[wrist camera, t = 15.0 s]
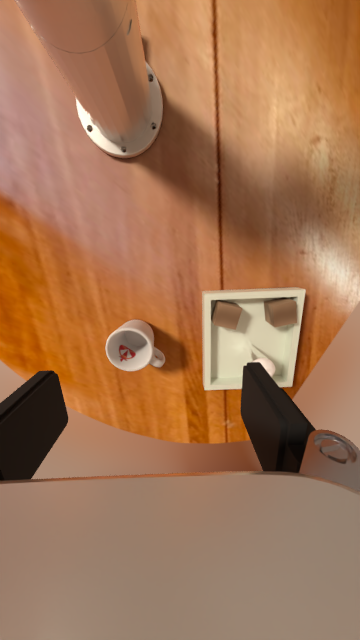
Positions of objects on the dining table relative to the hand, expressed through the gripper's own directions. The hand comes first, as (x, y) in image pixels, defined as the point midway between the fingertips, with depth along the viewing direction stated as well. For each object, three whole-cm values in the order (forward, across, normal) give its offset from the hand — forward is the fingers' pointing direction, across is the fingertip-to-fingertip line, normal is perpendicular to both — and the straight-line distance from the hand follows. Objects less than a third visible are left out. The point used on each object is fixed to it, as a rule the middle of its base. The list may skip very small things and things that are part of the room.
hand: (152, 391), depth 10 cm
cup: (+31, +6, +9) cm, 32 cm away
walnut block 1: (+30, -10, +4) cm, 32 cm away
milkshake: (+30, -15, +13) cm, 36 cm away
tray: (+30, -15, +10) cm, 35 cm away
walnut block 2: (+30, -20, +4) cm, 36 cm away
